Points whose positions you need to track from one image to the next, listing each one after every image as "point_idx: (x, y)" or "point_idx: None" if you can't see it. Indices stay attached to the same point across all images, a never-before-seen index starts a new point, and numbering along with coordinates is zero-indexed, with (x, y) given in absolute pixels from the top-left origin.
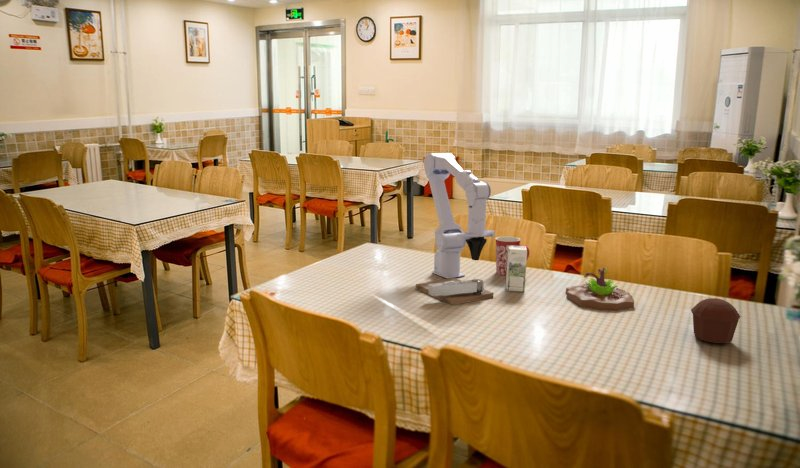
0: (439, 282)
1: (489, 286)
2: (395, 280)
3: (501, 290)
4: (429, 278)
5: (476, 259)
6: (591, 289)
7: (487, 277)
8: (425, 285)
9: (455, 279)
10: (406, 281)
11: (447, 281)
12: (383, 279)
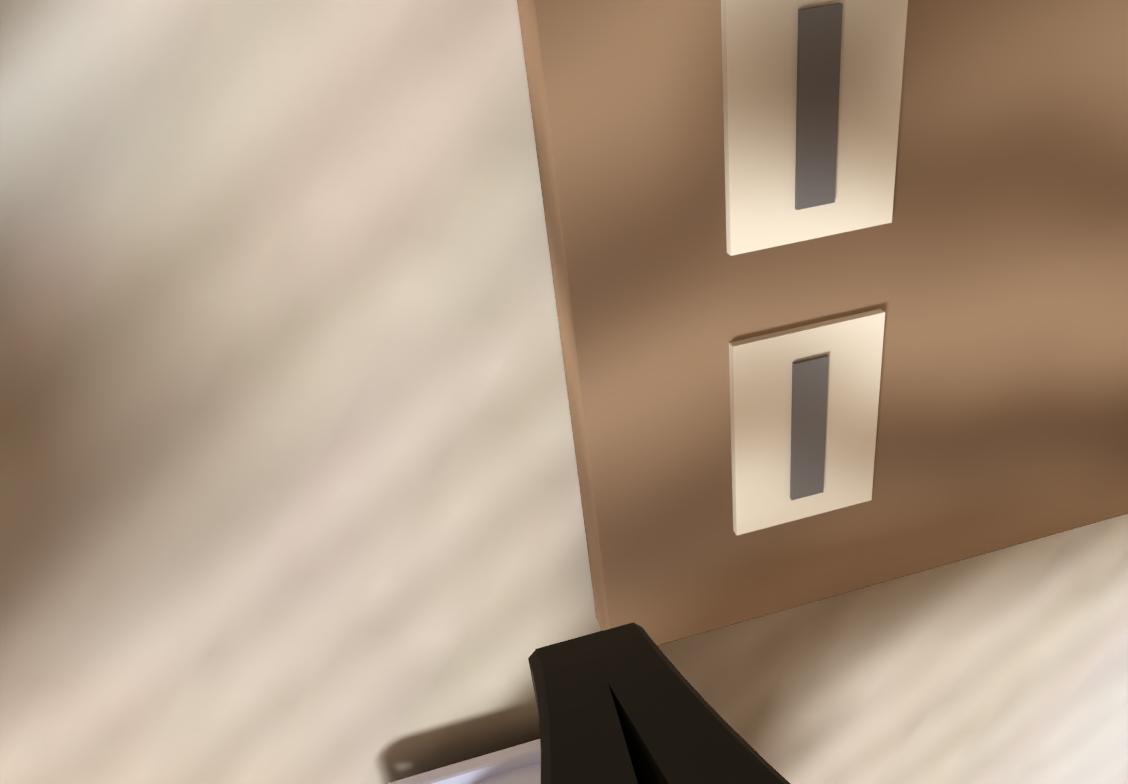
0: (907, 515)
1: (193, 344)
2: (1067, 740)
3: (62, 44)
4: None
5: (627, 639)
6: None
7: (9, 761)
8: (1125, 433)
9: (645, 599)
10: (1014, 704)
11: (793, 537)
12: (1121, 772)
